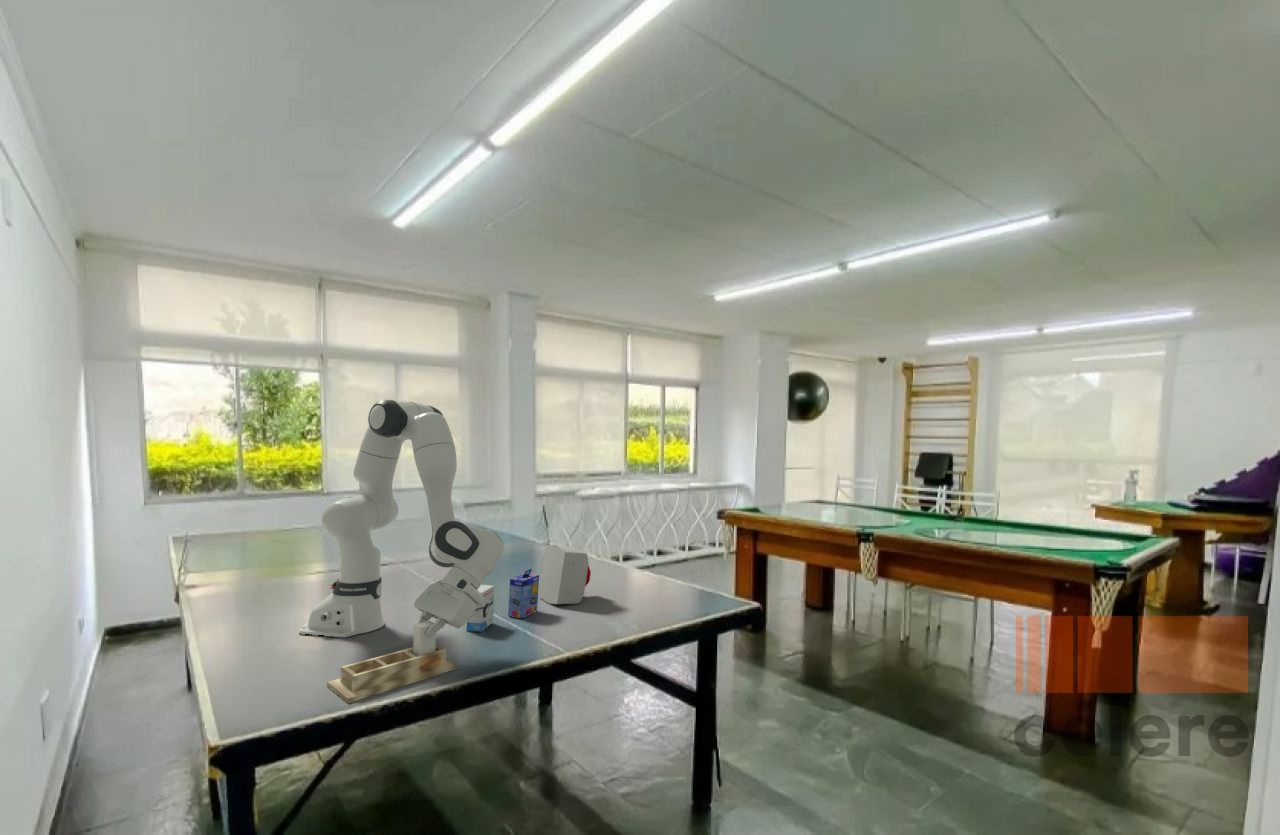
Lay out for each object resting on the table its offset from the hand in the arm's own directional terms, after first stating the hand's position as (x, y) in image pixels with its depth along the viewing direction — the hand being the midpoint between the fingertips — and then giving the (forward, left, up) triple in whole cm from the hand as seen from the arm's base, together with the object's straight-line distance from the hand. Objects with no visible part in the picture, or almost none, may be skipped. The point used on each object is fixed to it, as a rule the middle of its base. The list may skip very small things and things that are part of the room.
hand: (422, 633), depth 142 cm
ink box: (+7, +31, -9) cm, 34 cm away
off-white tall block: (0, 0, -6) cm, 6 cm away
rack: (-5, -5, -9) cm, 11 cm away
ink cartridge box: (+18, +44, -9) cm, 49 cm away
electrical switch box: (+31, +61, -9) cm, 70 cm away
